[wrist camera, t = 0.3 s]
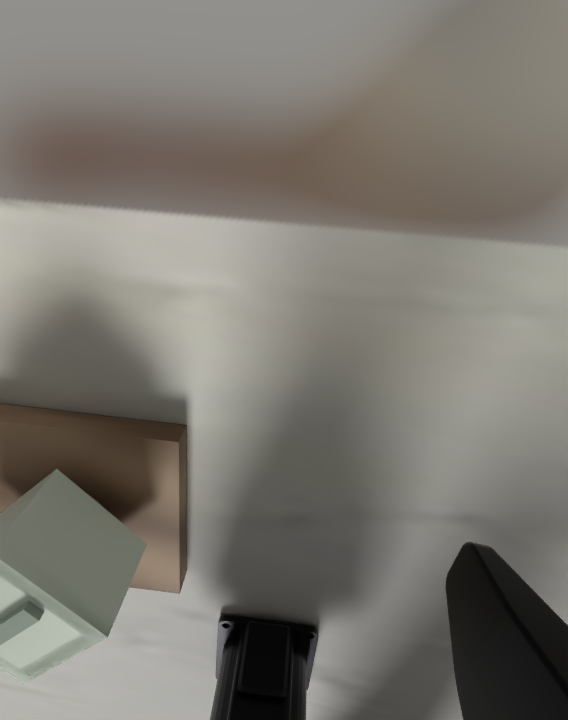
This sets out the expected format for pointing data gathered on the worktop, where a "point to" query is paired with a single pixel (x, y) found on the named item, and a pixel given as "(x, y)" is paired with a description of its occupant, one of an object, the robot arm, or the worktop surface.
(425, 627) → the worktop surface
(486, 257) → the worktop surface
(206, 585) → the worktop surface
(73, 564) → the sage cube with ridge
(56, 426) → the post stand
